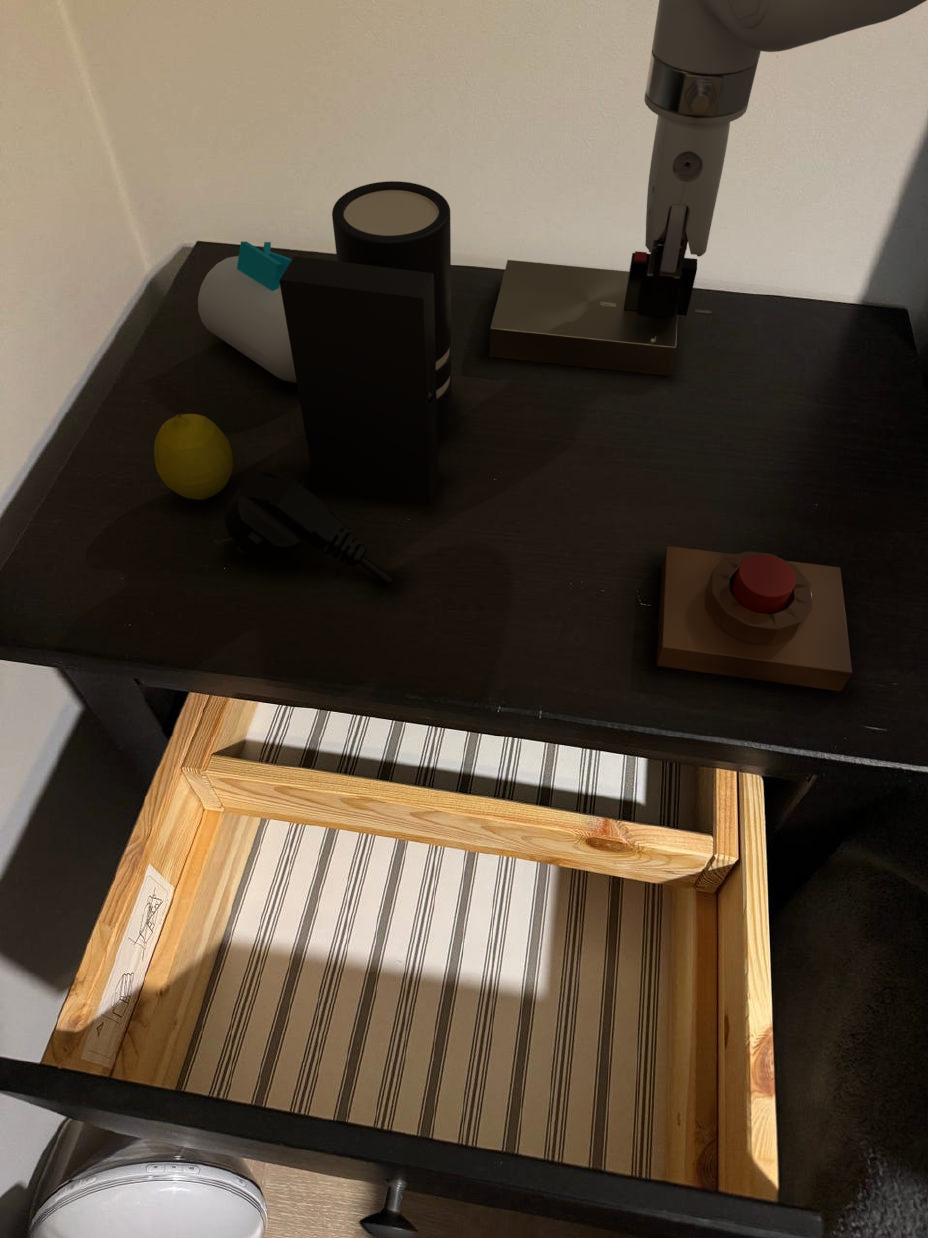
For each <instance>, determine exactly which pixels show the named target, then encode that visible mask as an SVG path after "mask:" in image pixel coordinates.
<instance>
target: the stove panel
mask: <svg viewBox="0 0 928 1238" xmlns="http://www.w3.org/2000/svg"><path fill="white" fill-rule="evenodd" d="M629 271H630V270H629ZM629 271H628V270H627V271H626V270H617V269H606V268H598V267H597V268H596V267H587V266H586V267H585V266H576V265H567V264H554V263H546V262H535V261H534V262H533V261H526V260H525V261H523V260H516V259H515V260H513V259H507V260H506V265H505V269H504V272H503V276H502V281H501V284H500V288H499V291H498V292H499V293H498V296H497V300H496V304H495V307H494V312H493V316H492V320H491V323H490V327H489V349H488V350H489V353H488V356H489V358H496V359H507V360H515V361H525V362H533V363H544V364H552V365H561V366H570V367H582V368H589V369H598V370H600V369H601V370H607V371H608V370H609V371H617V372H625V373H637V374H646V375H654V376H663V377H670V376H671V373H672V370H673V365H674V360H675V356H676V351H677V340H678V319H679V315H675V314H674V315H673V316H672V317H662V316H652V315H642V314H639V313H638V312H637V311H636V310H626V309H624V302H625V295H626V289H627V283H628V277H629ZM694 314H699V315H701V314H702V315H711V314H712V310H706V309H697V308H695V309H694Z"/></svg>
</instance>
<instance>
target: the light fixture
mask: <svg viewBox="0 0 928 1238" xmlns="http://www.w3.org/2000/svg"><path fill="white" fill-rule="evenodd" d="M331 219H332V228H333V235H334V244H335V255H336V260H330V259H321V258H314V257H307V256H298V255H293V257H292V258H291V259H292V260H291V262H290V264H289V265H288V267H287V269H286V270H285V272H284V274H283V275H282V277H281V279H280V280H279V282H280V288H281V294H282V300H283V306H284V311H285V317H286V323H287V329H288V335H289V341H290V346H291V352H292V358H293V364H294V370H295V375H296V381H297V382H296V386H297V393H298V398H299V404H300V409H301V415H302V416H301V417H302V423H303V427H304V433H305V438H306V444H307V450H308V451H307V452H308V456H309V462H310V468H311V474H312V479H313V485H314V488H316V489H322V490H327V491H334V492H341V493H348V494H353V495H360V496H365V497H366V496H367V497H371V498H372V497H373V498H379V499H385V500H392V501H397V502H403V503H410V504H417V505H424V506H429V507H430V506H431V503H432V500H433V498H434V494H435V491H436V488H437V485H438V482H439V449H438V438H439V437H441V436H442V435H443V434H444V433H445V432H446V431H447V429H448V428H449V427H450V424H451V422H452V416H453V414H452V413H453V411H452V409H453V408H452V406H453V405H452V402H453V401H452V397H453V396H452V263H451V262H452V259H451V258H452V257H451V256H452V255H451V254H452V250H451V249H452V247H451V243H452V241H451V240H452V238H451V231H452V230H451V229H452V228H451V207H450V203H449V202H448V201H447V199H446V198H445V196H443V195H442V194H440V193H439V192H438V191H436V190H434V189H432V188H430V187H428V186H426V185H422V184H419V183H415V182H409V181H398V180H397V181H396V180H394V181H393V180H392V181H391V180H390V181H389V180H388V181H387V180H386V181H377V182H372V183H367V184H364V185H360V186H358V187H355V188H353V189H351V190H349V191H347V192H346V193H344V194H342V196H340V197H339V198H338V199H337V201H336V202H335V203H334V205H333V208H332V210H331Z"/></svg>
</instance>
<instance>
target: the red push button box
mask: <svg viewBox="0 0 928 1238" xmlns="http://www.w3.org/2000/svg"><path fill="white" fill-rule="evenodd" d="M754 555H770V556H774V557H776V558H779V559H781V560H782V561H784V562H785V563H787V564H788V565H789V566H790V567H791V569H792V570H793V572H794V574H795V578H796V583H795V586H794V588H793V591H792V593H791V595H790V597H789V599H788V601H787V603H786V605H785V606H784V607H783V608H782V609H781V610H779V611H777V612H774V613H767V614H764V613H757V612H754V611H751V610H749V609H747V608H745V607H744V606H742V605H741V604H740V603H739V602H738V601H737V599H736V598H735V596H734V593H733V583H734V580H735V578H736V575H737V572H738V570H739V567H740V565H741V563H742V562H743V561H744V560H745V559H747V558H748V557H751V556H754ZM850 649H851V648H850V640H849V633H848V624H847V614H846V605H845V597H844V589H843V577H842V572H841V567H839V566H831V565H824V564H817V563H816V564H815V563H807V562H800V561H792V560H786V559H783V558H782V557H780V556H778V555H775V554H773V553H768V552H760V551H753V550H752V551H751V550H747V551H742V552H740V553H729V552H728V553H727V552H719V551H714V550H713V551H712V550H705V549H704V550H703V549H696V548H689V547H688V548H687V547H680V546H673V545H666V547H665V550H664V554H663V558H662V562H661V565H660V583H659V605H658V627H657V647H656V667H662V668H663V667H664V668H669V669H677V670H683V671H684V670H685V671H691V672H699V673H705V674H713V675H720V676H728V677H734V678H741V679H749V680H756V681H762V682H764V681H765V682H771V683H777V684H786V685H790V686H791V685H792V686H799V687H807V688H814V689H819V690H828V691H835V692H842V690H843V689H844V687H845V685H847V682H848V680H849V679H850V677H851V676H852V674H853V666H852V658H851V650H850Z"/></svg>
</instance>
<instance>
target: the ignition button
mask: <svg viewBox="0 0 928 1238" xmlns="http://www.w3.org/2000/svg"><path fill="white" fill-rule="evenodd" d="M779 558H780V557H779ZM779 558H776V557H774V556H770V555H754V556H751V557H748V558H747V559H745V560H744V561H743V562H742V563H741V565H740V567H739V570H738V572H737V575H736V578H735V580H734V583H733V593H734V596H735V598H736V599H737V601H738V602H739V603H740V604H741V605H742V606H744V607H745V608H747V609H749V610H751V611H754V612H757V613H764V614H767V613H774V612H777V611H779V610H781V609H782V608H783V607H784V606H785V605H786V603H787V601H788V599H789V597H790V595H791V593H792V591H793V588H794V586H795V583H796V578H795V574H794V572H793V570H792V569H791V567H790V566H789V565H788V564H787V563H785V562H784V561H782V560H781V559H782V558H781V559H779Z"/></svg>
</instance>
